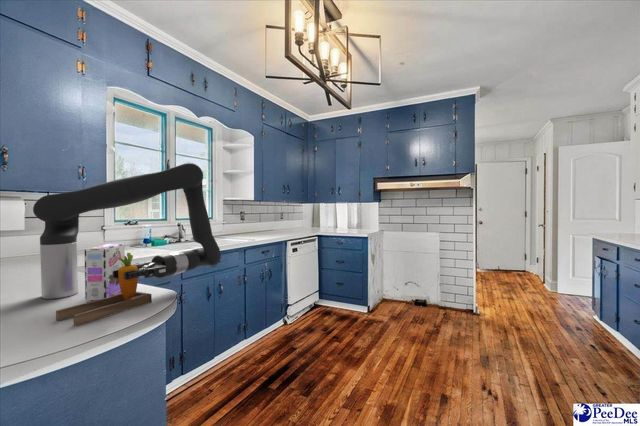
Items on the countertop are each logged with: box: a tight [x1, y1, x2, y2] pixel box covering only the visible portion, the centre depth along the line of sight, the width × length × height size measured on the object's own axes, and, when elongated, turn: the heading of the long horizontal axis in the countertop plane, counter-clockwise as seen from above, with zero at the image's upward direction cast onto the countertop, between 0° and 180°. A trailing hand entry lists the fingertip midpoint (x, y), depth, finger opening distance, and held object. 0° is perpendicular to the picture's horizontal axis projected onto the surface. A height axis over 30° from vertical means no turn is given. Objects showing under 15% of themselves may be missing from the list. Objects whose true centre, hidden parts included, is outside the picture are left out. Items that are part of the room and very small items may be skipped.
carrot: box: [118, 252, 139, 300], centre depth 91 cm, size 5×5×15 cm
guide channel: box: [55, 291, 153, 327], centre depth 86 cm, size 9×20×3 cm, turn 155°
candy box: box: [84, 243, 126, 303], centre depth 101 cm, size 14×6×16 cm, turn 9°
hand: (119, 275), depth 89 cm, fingers closed on carrot, 4 cm apart
